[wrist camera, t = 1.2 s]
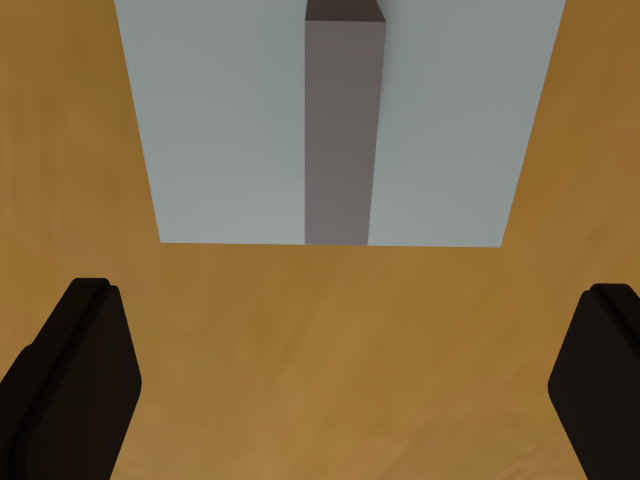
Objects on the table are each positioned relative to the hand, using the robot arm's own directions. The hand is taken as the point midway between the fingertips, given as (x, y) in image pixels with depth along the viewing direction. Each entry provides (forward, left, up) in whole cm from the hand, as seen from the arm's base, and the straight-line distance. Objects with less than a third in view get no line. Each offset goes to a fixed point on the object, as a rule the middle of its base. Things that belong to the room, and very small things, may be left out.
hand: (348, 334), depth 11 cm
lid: (0, 0, -16) cm, 16 cm away
